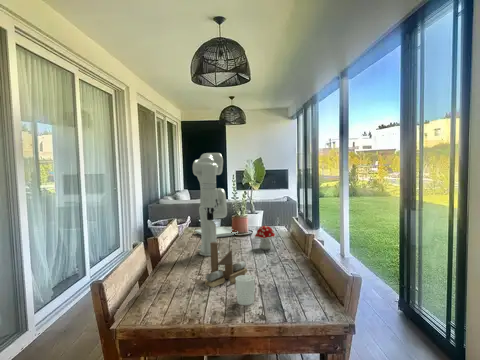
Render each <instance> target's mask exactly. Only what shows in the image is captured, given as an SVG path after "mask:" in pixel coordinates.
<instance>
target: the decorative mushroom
mask: <svg viewBox="0 0 480 360" xmlns="http://www.w3.org/2000/svg"><path fill="white" fill-rule="evenodd" d="M254 238H256V239H257V240H258V239H259V240H260V242H259V246H258V247H259V249H261V250H263V251H265V250H266V251H267V250H270V249H271V248H272V242H271V241H270V240H271V239H272V240H273V239H275V238H276V234H275V233H274V230H273V228H272V227H271V226H268V225H262V226H260V227H259V228H258V229H257V231H256V234H255V235H254Z"/></svg>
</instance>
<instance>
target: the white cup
mask: <svg viewBox="0 0 480 360" xmlns="http://www.w3.org/2000/svg"><path fill="white" fill-rule="evenodd" d="M255 279H256V278H255V276H254V275H249V274H245V275H240V276H237V277H236V278H235V280H236V283H235V290H236V291H235V293H236V302H237V304H239V305H241V306H250V305H252V304H254V302H255V289H256V288H255V287H256V286H255V281H256V280H255Z"/></svg>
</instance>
